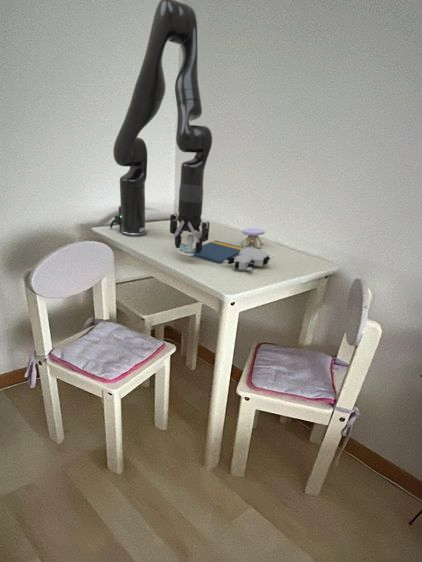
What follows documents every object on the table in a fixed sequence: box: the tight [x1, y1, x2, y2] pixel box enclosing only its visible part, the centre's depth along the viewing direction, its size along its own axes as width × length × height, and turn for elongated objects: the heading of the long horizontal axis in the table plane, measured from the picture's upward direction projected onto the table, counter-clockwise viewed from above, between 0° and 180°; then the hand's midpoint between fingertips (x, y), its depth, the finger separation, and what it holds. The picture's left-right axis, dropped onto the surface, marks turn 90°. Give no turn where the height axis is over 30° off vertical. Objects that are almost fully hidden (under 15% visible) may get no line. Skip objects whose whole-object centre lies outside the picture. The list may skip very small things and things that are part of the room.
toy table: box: [241, 227, 266, 249], centre depth 166 cm, size 10×9×6 cm
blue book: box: [192, 240, 245, 264], centre depth 156 cm, size 14×20×1 cm
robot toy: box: [222, 246, 275, 272], centre depth 144 cm, size 12×4×15 cm
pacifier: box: [177, 233, 195, 257], centre depth 142 cm, size 7×6×6 cm
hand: (187, 250), depth 143 cm, fingers closed on pacifier, 7 cm apart
